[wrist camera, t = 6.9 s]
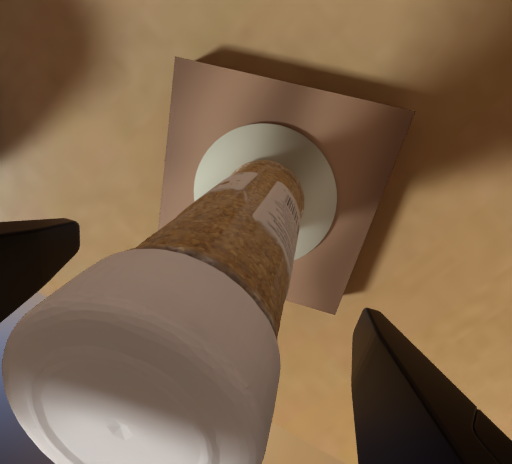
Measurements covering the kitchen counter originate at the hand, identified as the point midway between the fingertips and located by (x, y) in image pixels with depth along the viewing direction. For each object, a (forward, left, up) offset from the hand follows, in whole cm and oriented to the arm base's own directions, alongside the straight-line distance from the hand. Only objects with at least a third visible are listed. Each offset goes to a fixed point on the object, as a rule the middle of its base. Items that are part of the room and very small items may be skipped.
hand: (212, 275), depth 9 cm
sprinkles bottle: (0, 0, -9) cm, 9 cm away
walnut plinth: (0, 0, -11) cm, 11 cm away
